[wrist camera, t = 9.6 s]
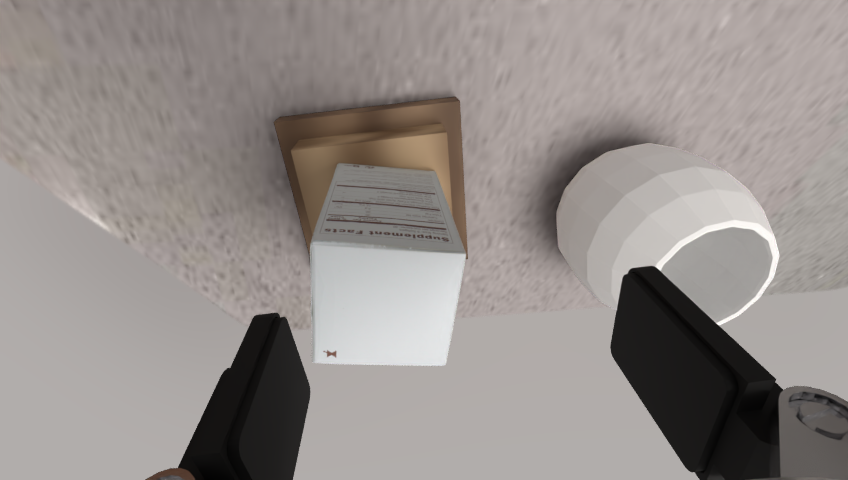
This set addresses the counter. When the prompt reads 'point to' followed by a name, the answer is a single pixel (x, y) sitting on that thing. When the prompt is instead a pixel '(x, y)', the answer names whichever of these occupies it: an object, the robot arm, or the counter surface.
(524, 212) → the counter surface
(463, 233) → the plinth
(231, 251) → the counter surface
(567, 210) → the white vase
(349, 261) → the supplement box
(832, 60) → the counter surface
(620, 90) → the counter surface
